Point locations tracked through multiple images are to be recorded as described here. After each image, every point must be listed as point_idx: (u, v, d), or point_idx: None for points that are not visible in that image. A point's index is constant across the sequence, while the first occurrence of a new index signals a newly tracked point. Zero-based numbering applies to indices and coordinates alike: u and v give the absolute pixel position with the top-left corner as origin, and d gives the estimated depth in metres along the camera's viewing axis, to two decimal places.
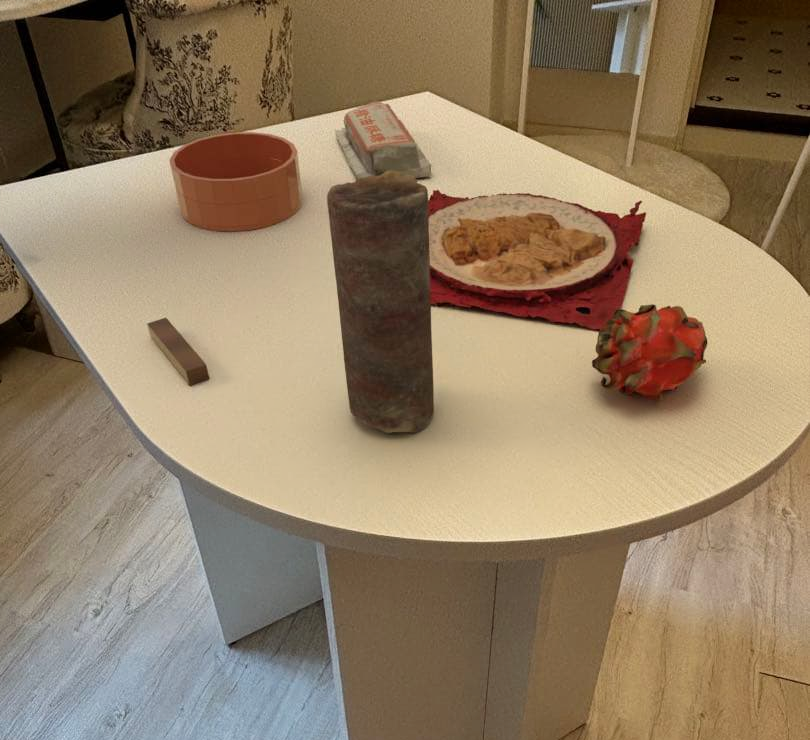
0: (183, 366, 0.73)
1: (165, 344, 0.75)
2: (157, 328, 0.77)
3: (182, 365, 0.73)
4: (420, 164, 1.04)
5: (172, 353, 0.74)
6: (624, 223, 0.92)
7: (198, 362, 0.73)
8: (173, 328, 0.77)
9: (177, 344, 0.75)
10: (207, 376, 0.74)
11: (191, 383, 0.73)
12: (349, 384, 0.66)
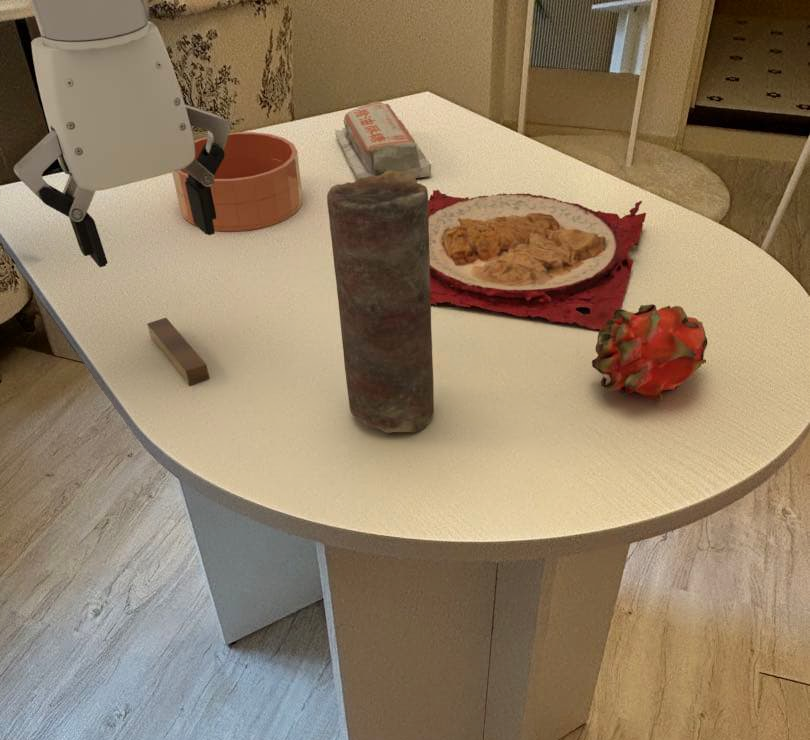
0: (183, 366, 0.73)
1: (165, 344, 0.75)
2: (157, 328, 0.77)
3: (182, 365, 0.73)
4: (420, 164, 1.04)
5: (172, 353, 0.74)
6: (624, 223, 0.92)
7: (198, 362, 0.73)
8: (173, 328, 0.77)
9: (177, 344, 0.75)
10: (207, 376, 0.74)
11: (191, 383, 0.73)
12: (349, 384, 0.66)
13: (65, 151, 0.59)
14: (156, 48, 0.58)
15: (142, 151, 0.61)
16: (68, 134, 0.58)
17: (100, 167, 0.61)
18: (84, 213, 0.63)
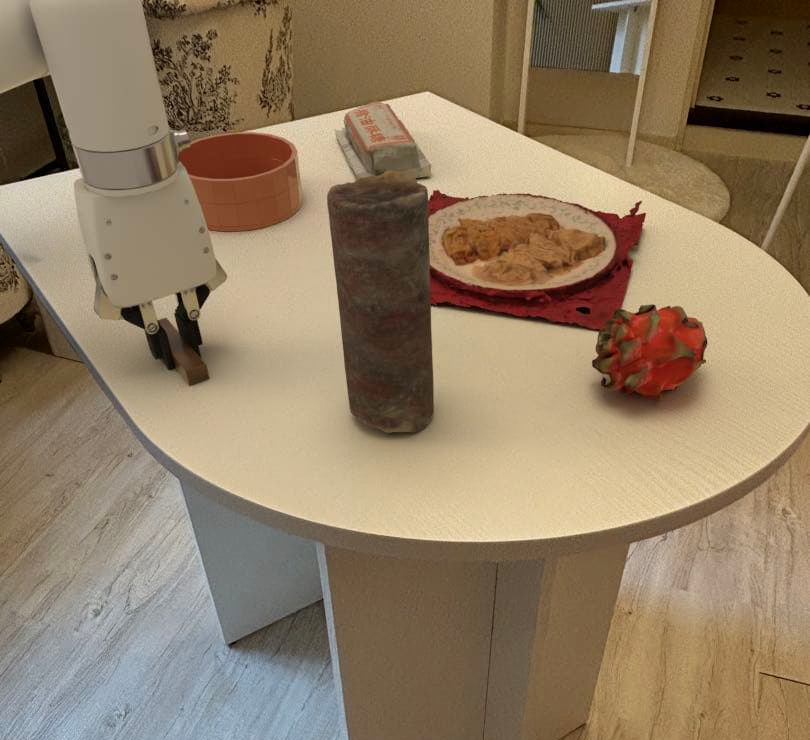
0: (183, 366, 0.73)
1: None
2: None
3: (182, 365, 0.73)
4: (420, 164, 1.04)
5: (172, 353, 0.74)
6: (624, 223, 0.92)
7: (198, 362, 0.73)
8: (173, 328, 0.77)
9: (177, 344, 0.75)
10: (207, 377, 0.74)
11: (191, 383, 0.73)
12: (349, 384, 0.66)
13: (102, 276, 0.66)
14: (184, 188, 0.65)
15: (170, 273, 0.69)
16: (105, 263, 0.65)
17: (132, 288, 0.68)
18: (158, 326, 0.72)
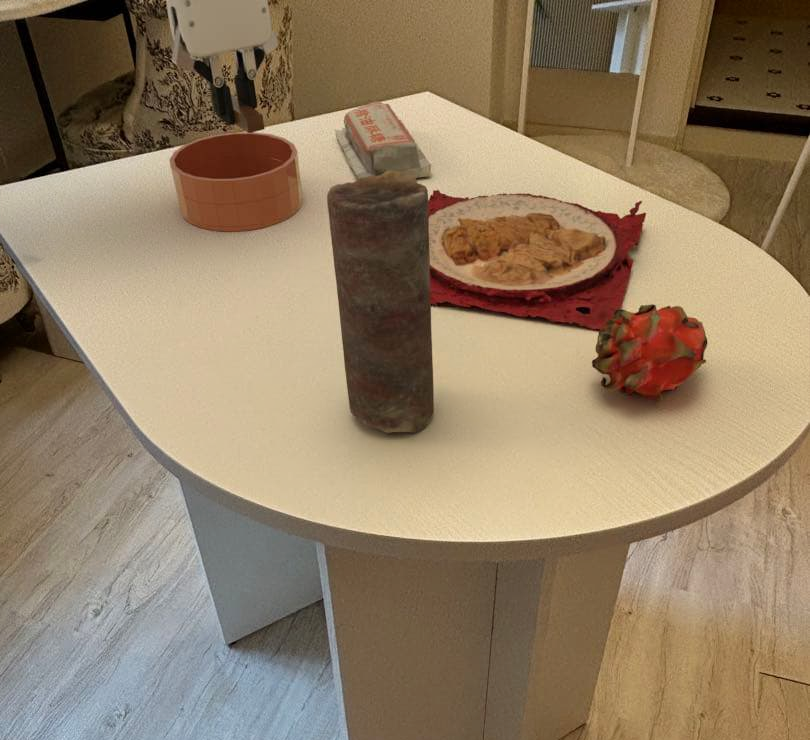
0: (243, 115, 0.88)
1: None
2: None
3: (243, 115, 0.88)
4: (420, 164, 1.04)
5: (233, 109, 0.90)
6: (624, 223, 0.92)
7: (256, 113, 0.89)
8: (232, 96, 0.93)
9: (237, 104, 0.91)
10: (262, 127, 0.89)
11: (250, 131, 0.89)
12: (349, 384, 0.66)
13: (181, 24, 0.82)
14: None
15: (235, 27, 0.84)
16: (185, 10, 0.81)
17: (205, 38, 0.83)
18: (223, 81, 0.88)
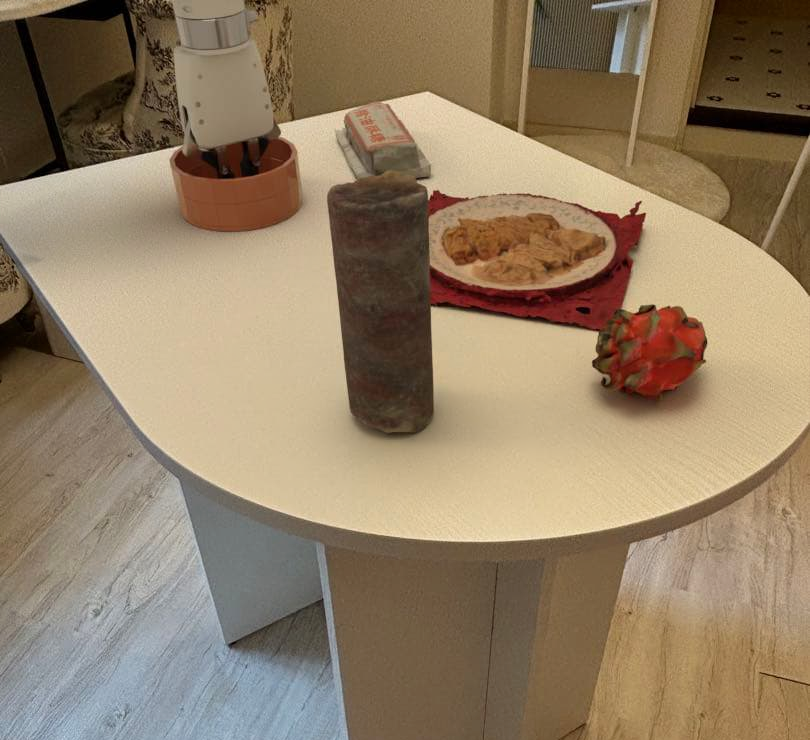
0: None
1: None
2: None
3: None
4: (420, 164, 1.04)
5: None
6: (624, 223, 0.92)
7: None
8: None
9: None
10: None
11: None
12: (349, 384, 0.66)
13: (192, 121, 0.90)
14: (253, 54, 0.88)
15: (240, 122, 0.92)
16: (195, 110, 0.89)
17: (213, 133, 0.91)
18: (229, 168, 0.95)
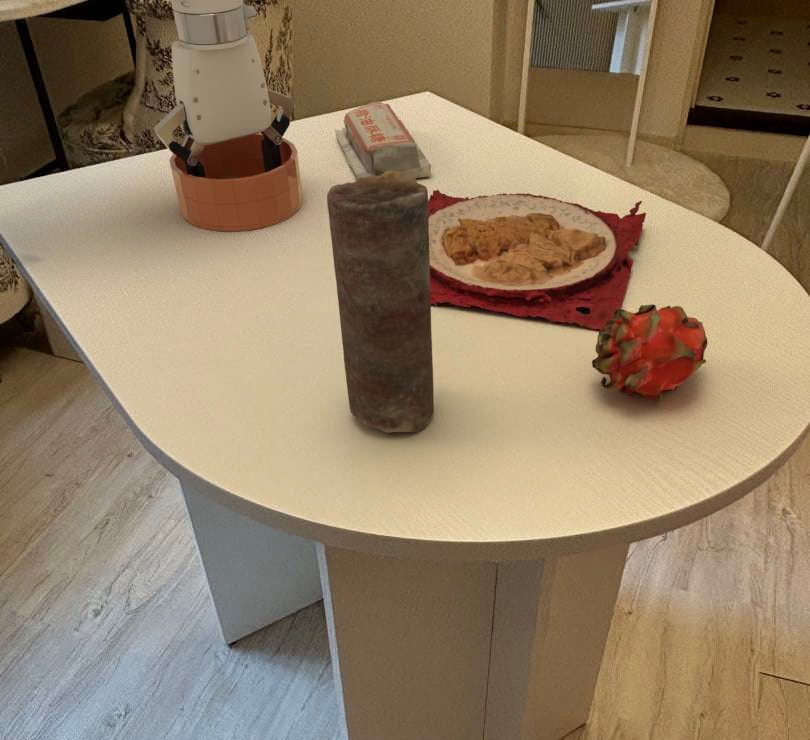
0: None
1: None
2: (225, 178, 1.01)
3: None
4: (420, 164, 1.04)
5: None
6: (624, 223, 0.92)
7: None
8: None
9: None
10: None
11: None
12: (349, 384, 0.66)
13: (189, 117, 0.89)
14: (252, 49, 0.88)
15: (238, 118, 0.92)
16: (193, 105, 0.88)
17: (211, 128, 0.91)
18: (197, 160, 0.93)
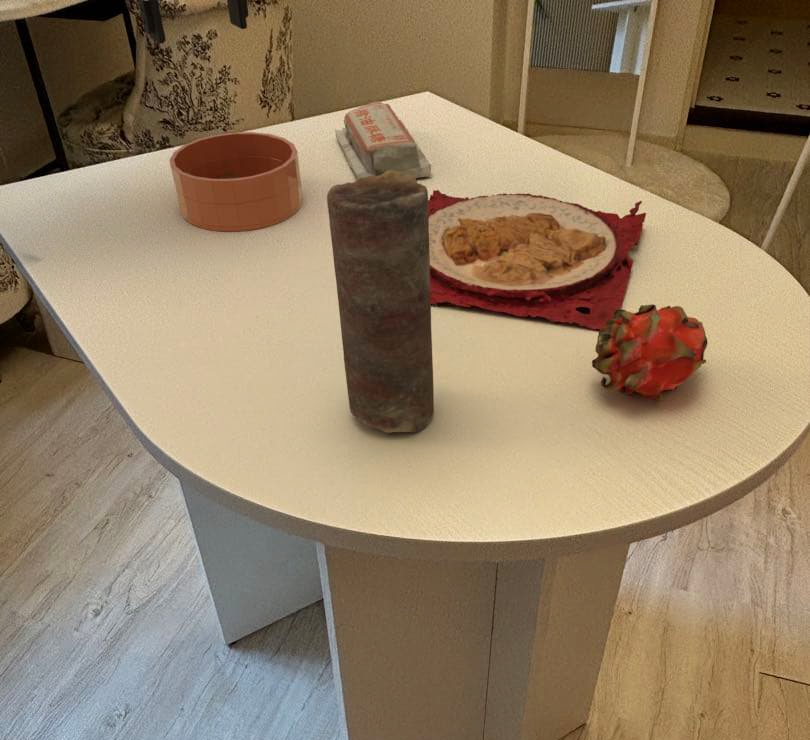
0: None
1: None
2: (225, 178, 1.01)
3: None
4: (420, 164, 1.04)
5: None
6: (624, 223, 0.92)
7: None
8: None
9: None
10: None
11: None
12: (349, 384, 0.66)
13: None
14: None
15: None
16: None
17: None
18: None
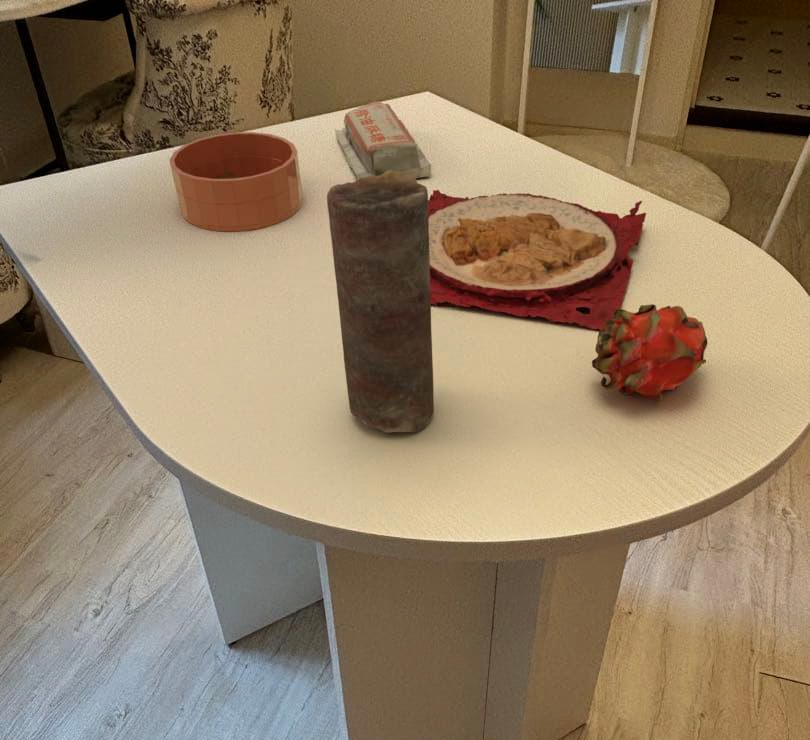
0: None
1: None
2: (225, 178, 1.01)
3: None
4: (420, 164, 1.04)
5: None
6: (624, 223, 0.92)
7: None
8: None
9: None
10: None
11: None
12: (349, 384, 0.66)
13: None
14: None
15: None
16: None
17: None
18: None
